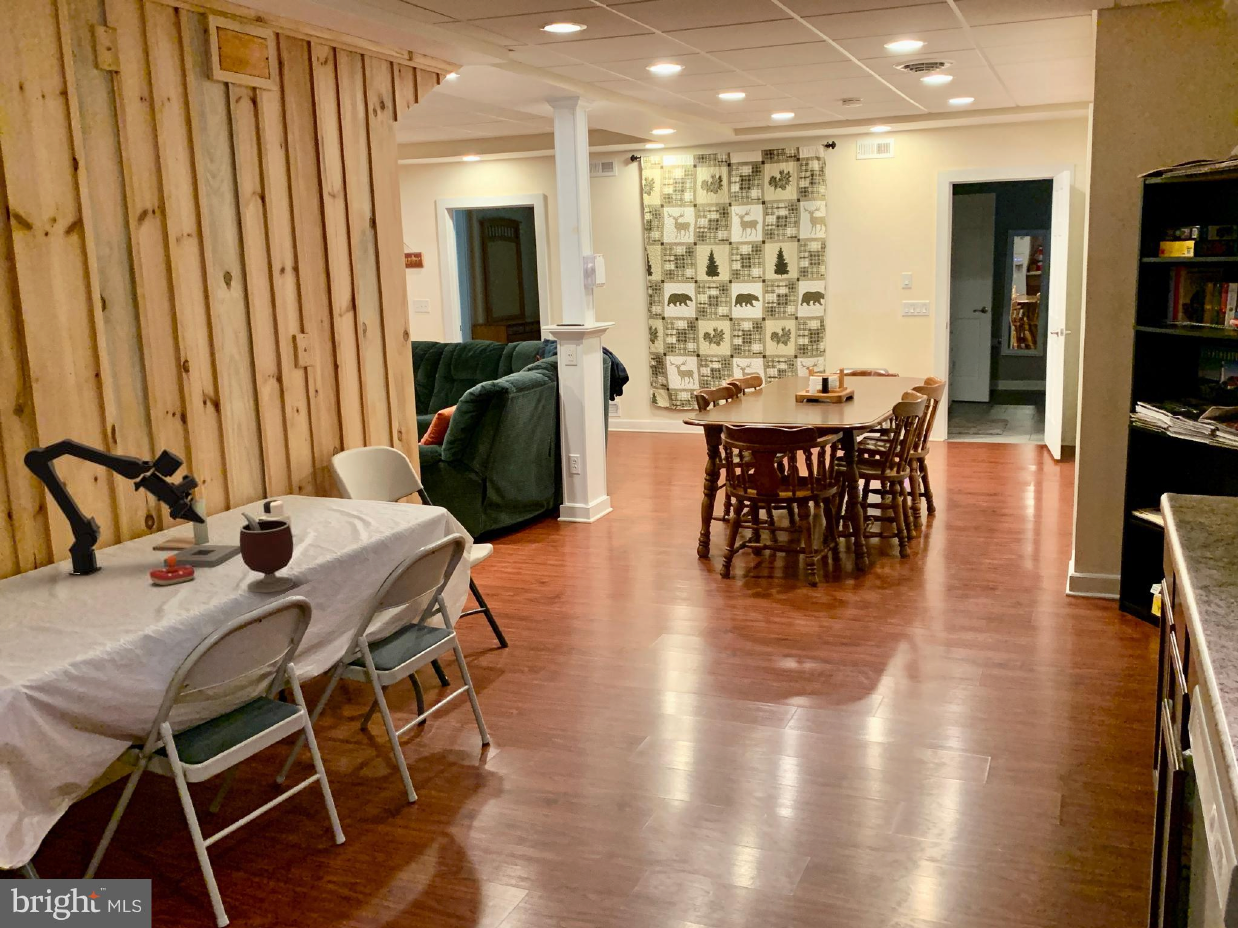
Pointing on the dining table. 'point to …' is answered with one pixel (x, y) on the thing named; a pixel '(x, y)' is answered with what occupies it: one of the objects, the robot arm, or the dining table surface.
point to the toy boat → (172, 573)
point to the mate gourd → (266, 552)
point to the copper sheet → (176, 544)
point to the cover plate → (205, 555)
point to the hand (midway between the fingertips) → (204, 521)
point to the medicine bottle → (275, 512)
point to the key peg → (198, 528)
